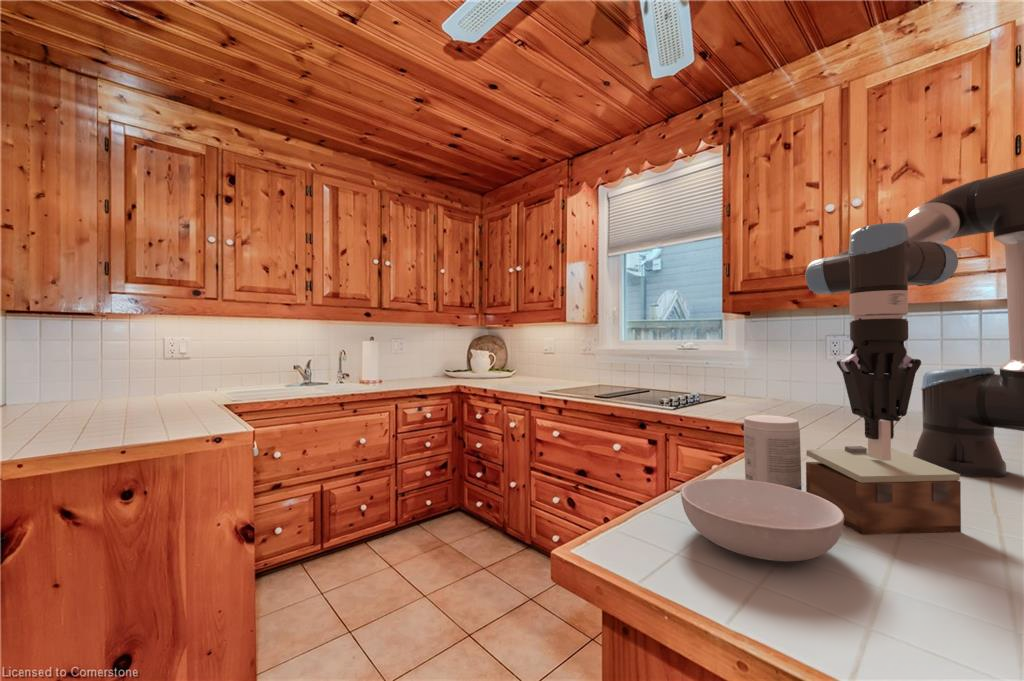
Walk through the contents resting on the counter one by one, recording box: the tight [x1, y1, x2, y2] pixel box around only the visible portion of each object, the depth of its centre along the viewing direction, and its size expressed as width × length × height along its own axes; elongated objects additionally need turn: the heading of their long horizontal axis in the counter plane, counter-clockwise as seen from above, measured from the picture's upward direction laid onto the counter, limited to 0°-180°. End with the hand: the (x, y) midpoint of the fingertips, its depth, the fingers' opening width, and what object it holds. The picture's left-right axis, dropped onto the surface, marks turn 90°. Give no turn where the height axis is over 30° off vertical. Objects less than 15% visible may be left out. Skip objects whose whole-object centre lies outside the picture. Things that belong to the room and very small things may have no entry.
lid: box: [805, 445, 961, 483], centre depth 74 cm, size 16×12×2 cm
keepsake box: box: [805, 461, 962, 536], centre depth 73 cm, size 16×12×8 cm
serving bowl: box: [680, 477, 844, 562], centre depth 65 cm, size 21×21×7 cm
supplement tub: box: [743, 414, 803, 491], centre depth 86 cm, size 10×10×15 cm
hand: (879, 458), depth 73 cm, fingers closed
